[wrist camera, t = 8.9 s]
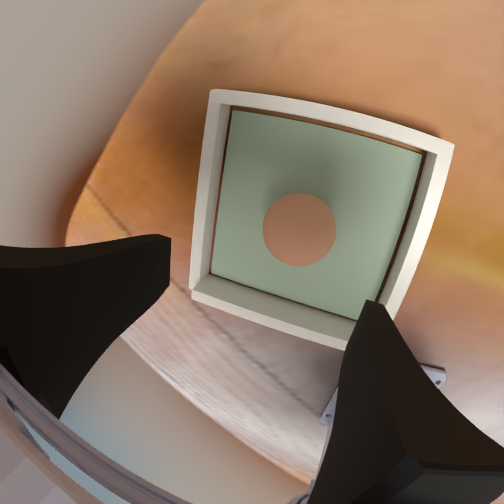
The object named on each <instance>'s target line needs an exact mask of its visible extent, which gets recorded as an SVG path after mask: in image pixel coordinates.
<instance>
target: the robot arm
mask: <svg viewBox="0 0 504 504" xmlns="http://www.w3.org/2000/svg"><path fill="white" fill-rule="evenodd" d="M170 257H171V238H169V237H166V236H163V235H160V234H149V235H141V236H134V237H128V238H123V239H117V240H112V241H106V242H100V243H93V244H87V245H80V246H71V247H59V248H21V247H9V246H1V245H0V504H104V503H102V502H101V501H100V500H98V499H97V498H96V497H94V496H93V495H92V494H90V493H89V492H88V491H86V490H85V489H84V488H82V487H81V486H80V485H79V484H77V483H76V482H75V481H74V480H72V479H71V478H70V477H69V476H68V475H66V474H65V473H64V472H63V471H62V470H60V469H59V468H58V467H57V466H56V465H55V464H54V463H52V462H51V461H50V457H49V456H48V455H47V453H46V452H45V451H44V450H43V449H42V448H41V447H40V446H39V444H38V443H37V442H36V440H35V439H34V438H33V437H32V435H31V434H30V433H29V431H28V429H27V428H26V426H25V425H24V423H23V422H22V421H21V419H20V418H19V417H18V416H17V414H16V413H15V411H16V412H17V413H18V414H19V415H20V416H21V417H22V418H23V419H24V420H25V421H26V422H27V423H28V424H29V425H30V426H31V427H32V428H33V429H34V430H35V431H36V432H37V433H38V434H39V435H40V436H41V437H42V438H43V439H44V440H46V441H47V442H48V443H49V444H50V445H51V446H52V447H54V448H55V449H56V450H57V451H58V452H59V453H61V454H62V455H63V456H64V457H65V458H66V459H68V460H69V461H70V462H71V463H73V464H74V465H75V466H76V467H78V468H79V469H80V470H82V471H83V472H84V473H86V474H87V475H88V476H90V477H91V478H93V479H94V480H95V481H97V482H98V483H100V484H101V485H102V486H104V487H105V488H107V489H108V490H110V491H112V492H113V493H114V494H116V495H118V496H119V497H121V498H122V499H124V500H126V501H127V502H129V503H131V504H192V503H190V502H188V501H185V500H183V499H181V498H179V497H177V496H175V495H173V494H171V493H169V492H167V491H165V490H163V489H161V488H159V487H157V486H155V485H154V484H152V483H150V482H148V481H146V480H145V479H143V478H141V477H139V476H138V475H136V474H134V473H133V472H131V471H129V470H128V469H126V468H124V467H123V466H121V465H120V464H118V463H116V462H115V461H113V460H112V459H110V458H109V457H107V456H106V455H104V454H103V453H101V452H100V451H98V450H97V449H96V448H94V447H93V446H92V445H90V444H89V443H87V442H86V441H85V440H83V439H82V438H81V437H79V436H78V435H77V434H76V433H74V432H73V431H72V430H70V429H69V428H68V427H67V426H65V425H64V424H63V423H62V422H61V421H59V419H60V417H61V415H62V413H63V411H64V409H65V408H66V406H67V404H68V402H69V400H70V399H71V397H72V395H73V394H74V392H75V391H76V389H77V388H78V386H79V385H80V383H81V382H82V380H83V379H84V377H85V376H86V375H87V373H88V372H89V370H90V369H91V368H92V366H93V365H94V364H95V362H96V361H97V360H98V358H100V356H101V355H102V354H103V353H104V352H105V350H106V349H107V348H108V347H109V346H110V345H111V343H112V342H113V341H114V340H115V339H116V338H117V337H118V336H119V335H121V334H122V333H123V332H124V331H125V330H126V329H127V328H128V327H129V326H130V325H132V324H133V323H134V322H135V321H136V320H137V319H138V318H139V317H140V316H141V315H143V314H144V313H145V312H146V311H147V310H148V309H149V308H150V307H151V306H152V305H153V304H154V303H155V302H156V301H157V300H158V299H159V298H160V296H161V295H162V294H163V293H164V291H165V290H166V289H167V287H168V286H169V285H170ZM446 378H447V374H446V372H445V371H443V370H439V369H435V368H431V367H427V366H423V365H420V364H419V363H418V361H417V360H416V358H415V357H414V355H413V354H412V352H411V351H410V349H409V348H408V346H407V344H406V343H405V341H404V339H403V338H402V336H401V334H400V333H399V331H398V329H397V327H396V326H395V324H394V322H393V320H392V318H391V317H390V315H389V313H388V311H387V310H386V308H385V306H384V305H383V304H380V303H377V302H374V301H370V300H367V299H366V301H365V303H364V306H363V308H362V311H361V313H360V315H359V318H358V320H357V323H356V325H355V327H354V329H353V332H352V334H351V336H350V338H349V341H348V343H347V345H346V349H345V353H344V357H343V361H342V365H341V370H340V377H339V385H338V387H337V389H336V391H335V393H334V394H333V396H332V398H331V400H330V402H329V403H328V405H327V407H326V409H325V410H324V412H323V414H322V415H321V417H320V423H322V424H324V425H328V426H329V428H328V432H327V436H326V440H325V444H324V448H323V452H322V456H321V459H320V463H319V467H318V470H317V475H316V479H313V480H311V483H310V486H309V489H308V493H301V494H298V495H296V496H294V497H293V498H292V499H291V500H290V501H289V502H288V503H287V504H490V503H491V502H493V501H494V500H495V499H497V498H498V497H499V496H500V495H501V494H502V493H503V492H504V448H503V447H502V446H501V445H499V444H498V443H497V442H495V441H494V440H492V439H491V438H490V437H488V436H487V435H486V434H484V433H483V432H482V431H481V430H479V429H478V428H477V427H476V426H475V425H474V424H472V423H471V422H470V421H469V420H468V419H467V418H466V417H465V416H464V415H463V414H462V413H460V412H459V411H458V410H457V409H456V408H455V407H454V406H453V404H452V403H451V402H450V401H449V400H448V399H447V398H446V397H445V396H444V395H443V394H442V393H441V391H440V390H439V388H440V386H441V385H442V384H443V382H444V381H445V380H446ZM437 380H439V381H437Z"/></svg>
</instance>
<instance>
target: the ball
mask: <svg viewBox="0 0 504 504" xmlns="http://www.w3.org/2000/svg"><path fill="white" fill-rule="evenodd" d="M335 237H336V223H335V219H334V216H333V214H332V212H331V210H330V209H329V207H328V206H327V205H326V204H325V203H324V202H323V201H322V200H321V199H319V198H318V197H316V196H314V195H311V194H307V193H299V192H298V193H291V194H287V195H285V196H283V197H281V198H279V199H278V200H276V201H275V202H274V203H273V204H272V205H271V206H270V208H269V209H268V211H267V212H266V215H265V217H264V221H263V238H264V241H265V244H266V246H267V248H268V250H269V251H270V252H271V254H272V255H273V256H274V257H275V258H277V259H278V260H279V261H281V262H283V263H285V264H288V265H291V266H298V267H300V266H308V265H311V264H314V263H316V262H318V261H320V260H321V259H322V258H324V257H325V256H326V255H327V254H328V252H329V251H330V249H331V248H332V246H333V244H334V241H335Z"/></svg>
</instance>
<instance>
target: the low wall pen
mask: <svg viewBox="0 0 504 504" xmlns="http://www.w3.org/2000/svg"><path fill="white" fill-rule="evenodd" d="M231 105H234V106H242V107H249V108H256V109H262V110H269V111H275V112H280V113H286V114H291V115H296V116H302V117H306V118H311V119H316V120H320V121H325V122H329V123H333V124H338V125H342V126H346V127H350V128H353V129H357V130H361V131H365V132H368V133H372V134H375V135H379V136H382V137H385V138H389V139H392V140H395V141H398V142H401V143H404V144H407V145H410V146H413V147H416V148H419V149H422V150H425V151H427V154H426V158H425V163H424V167H423V170H422V174H421V178H420V182H419V185H418V189H417V193H416V196H415V199H414V203H413V206H412V209H411V213H410V216H409V219H408V222H407V225H406V228H405V231H404V234H403V237H402V240H401V243H400V246H399V249H398V252H397V254H396V257H395V260H394V262H393V265H392V268H391V270H390V273H389V276H388V278H387V281H386V283H385V286H384V288H383V291H382V293H381V296H380V298H379V300H378V303H380V304H383V305H384V306H385V308H386V310H387V311H388V313H389V315H390V317H391V318H392V320H394V318H395V316H396V313H397V311H398V309H399V307H400V305H401V303H402V300H403V298H404V296H405V294H406V291H407V289H408V287H409V284H410V282H411V280H412V277H413V275H414V272H415V270H416V267H417V265H418V262H419V260H420V257H421V255H422V252H423V249H424V247H425V244H426V241H427V238H428V236H429V233H430V230H431V227H432V224H433V221H434V218H435V215H436V212H437V209H438V205H439V202H440V199H441V196H442V192H443V189H444V185H445V182H446V178H447V174H448V170H449V166H450V162H451V158H452V154H453V150H454V145H455V144H452V143H450V142H447V141H444V140H442V139H439V138H437V137H434V136H431V135H428V134H426V133H423V132H420V131H417V130H414V129H411V128H408V127H405V126H402V125H399V124H396V123H392V122H389V121H386V120H382V119H379V118H375V117H372V116H368V115H365V114H361V113H357V112H353V111H349V110H345V109H341V108H336V107H332V106H328V105H323V104H318V103H313V102H308V101H303V100H298V99H292V98H286V97H280V96H274V95H267V94H260V93H252V92H244V91H235V90H225V89H215V90H211V89H210V96H209V102H208V109H207V115H206V122H205V129H204V137H203V144H202V152H201V160H200V168H199V177H198V186H197V195H196V205H195V215H194V226H193V237H192V249H191V262H190V276H189V289H191V290H192V299H193V300H196V301H198V302H201V303H203V304H206V305H209V306H211V307H214V308H217V309H219V310H222V311H225V312H228V313H230V314H233V315H236V316H239V317H241V318H244V319H247V320H250V321H253V322H256V323H258V324H261V325H264V326H267V327H270V328H273V329H276V330H279V331H282V332H285V333H288V334H291V335H294V336H297V337H300V338H304V339H307V340H310V341H313V342H316V343H319V344H323V345H326V346H329V347H333V348H336V349H339V350H343V351H345V349H346V345H347V343H348V341H349V338H350V336H351V334H352V332H353V329H354V327H355V325H356V323H357V321H354V320H350V319H347V318H344V317H340V316H337V315H334V314H331V313H327V312H324V311H321V310H318V309H314V308H311V307H308V306H305V305H302V304H299V303H295V302H292V301H289V300H286V299H283V298H280V297H277V296H274V295H271V294H267V293H264V292H261V291H258V290H255V289H252V288H249V287H246V286H243V285H240V284H237V283H234V282H231V281H228V280H225V279H223V278H220V277H217V276H214V275H211V274H209V267H210V258H211V249H212V240H213V231H214V223H215V215H216V207H217V199H218V191H219V184H220V176H221V169H222V162H223V155H224V148H225V141H226V134H227V128H228V121H229V115H230V109H231Z"/></svg>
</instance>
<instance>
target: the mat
mask: <svg viewBox="0 0 504 504" xmlns="http://www.w3.org/2000/svg"><path fill="white" fill-rule="evenodd" d="M421 158H422V155H421V154H418V153H415V152H412V151H409V150H406V149H403V148H400V147H397V146H394V145H391V144H388V143H384V142H381V141H378V140H374V139H371V138H367V137H364V136H360V135H356V134H353V133H349V132H345V131H341V130H337V129H333V128H328V127H324V126H320V125H315V124H311V123H306V122H301V121H296V120H291V119H286V118H281V117H275V116H269V115H263V114H257V113H251V112H244V111H237V110H233V112H232V118H231V125H230V131H229V138H228V144H227V151H226V158H225V165H224V172H223V179H222V187H221V194H220V202H219V210H218V217H217V225H216V234H215V242H214V251H213V259H212V268H211V273H212V274H215V275H218V276H220V277H223V278H226V279H229V280H232V281H235V282H238V283H241V284H244V285H247V286H250V287H253V288H256V289H259V290H262V291H265V292H269V293H272V294H275V295H278V296H281V297H284V298H287V299H290V300H293V301H296V302H300V303H303V304H306V305H309V306H312V307H316V308H319V309H322V310H325V311H328V312H332V313H335V314H338V315H342V316H345V317H348V318H352V319H355V320H358V318H359V315H360V313H361V311H362V308H363V306H364V303H365V301H366V299H367V300H370V301H375V299H376V296H377V294H378V291H379V289H380V286H381V284H382V281H383V279H384V276H385V274H386V271H387V268H388V266H389V263H390V260H391V258H392V255H393V252H394V249H395V246H396V243H397V240H398V238H399V235H400V232H401V229H402V225H403V222H404V219H405V216H406V213H407V210H408V206H409V203H410V200H411V196H412V193H413V189H414V185H415V182H416V178H417V174H418V170H419V167H420V163H421ZM298 192H299V193H307V194H311V195H314V196H316V197H318V198H319V199H321V200H322V201H323V202H324V203H325V204H326V205H327V206H328V207H329V209H330V210H331V212H332V214H333V216H334V219H335V223H336V237H335V241H334V244H333V246H332V248H331V249H330V251H329V252H328V254H327V255H326V256H325V257H324V258H322V259H321V260H320V261H318V262H316V263H314V264H311V265H308V266H300V267H298V266H291V265H288V264H285V263H283V262H281V261H279V260H278V259H277V258H275V257H274V256H273V255H272V254H271V252H270V251H269V250H268V248H267V246H266V244H265V241H264V238H263V221H264V217H265V215H266V212H267V211H268V209H269V208H270V206H271V205H272V204H273V203H274V202H275V201H276V200H278V199H279V198H281V197H283V196H285V195H287V194H291V193H298Z"/></svg>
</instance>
